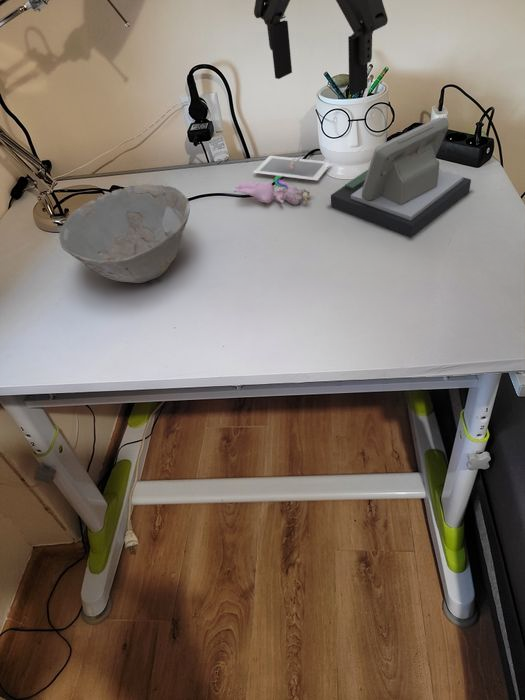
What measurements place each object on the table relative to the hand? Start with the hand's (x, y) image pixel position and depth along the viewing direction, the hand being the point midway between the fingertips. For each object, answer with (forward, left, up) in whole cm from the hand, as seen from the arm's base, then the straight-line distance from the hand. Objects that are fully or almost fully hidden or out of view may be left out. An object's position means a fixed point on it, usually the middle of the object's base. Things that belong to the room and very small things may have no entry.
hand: (318, 83), depth 69 cm
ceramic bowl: (+23, +24, -27) cm, 43 cm away
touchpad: (+24, -16, -27) cm, 39 cm away
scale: (-1, -19, -27) cm, 33 cm away
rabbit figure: (+19, -5, -27) cm, 33 cm away
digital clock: (-2, -18, -24) cm, 30 cm away
